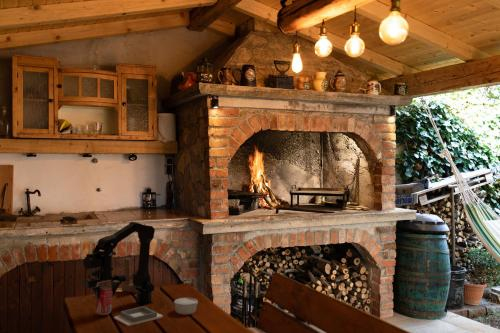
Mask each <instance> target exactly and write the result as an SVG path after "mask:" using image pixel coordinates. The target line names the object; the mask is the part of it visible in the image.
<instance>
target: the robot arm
mask: <svg viewBox="0 0 500 333" xmlns="http://www.w3.org/2000/svg"><path fill="white" fill-rule="evenodd" d="M134 233H137V238H138V240H139V253H138V254H139V255H138V264H137V269H138V271H137V273H136V274H134V275H133V280H132V284H133V285H134V286H135V289H136V290H139V291H138V293H136V300H135V303H137V304H139V305H142V306H143V305H148V304H152V303H154V301H153V300H152V293H153V292H154V291H155V286H154V284H153V283H152V281H151V275H150V273H149V264H150V263H149V262H150V251H151V248H150V247H151V242H153V239H154V236H155V233H156V229H155V227H154V226H153V225H146V224H142V223H139V222H136V221H131V222H129V223H128V224H127V225H125V226H124V227H122V228H121V229H119V230H117V231H116V232H114V233H112V234H110V235H107V236H104V237H101V238H99V239H98V241H97V244H96V245H95V247H94V249H93V250H92V252H91V253H86V256H85V257H84V258H83V262H82V264H83V267H84V269H85V270H89V276H90V278H85V279H84V281H83V286H84V287H86V288H88V289H89V288H90V289H92V290H93V293H94V296H95V298H96V301H97V300H98V299H99V295H100V287H101V286H99V285H100V284H103V283H104V284H105V283H109V282H110V284H111V286H110V287H112V290H113V297H114V296H115V294H116V292H117V290H118V288H119V286H121V285H122V283H123V282H124V281H126V276H125V275H124V273H121V272H120V273H116V274H115V273H114V274H113V271H114V267H113V256H116V255H117V253H116V252H115V251H114V249H115V248H117V247H118V244H119V243H121V241H123V240H125V239H126V238H128V237H129V236H131V235H132V234H134ZM96 269H97V270H96ZM91 277H92V278H91Z"/></svg>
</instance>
